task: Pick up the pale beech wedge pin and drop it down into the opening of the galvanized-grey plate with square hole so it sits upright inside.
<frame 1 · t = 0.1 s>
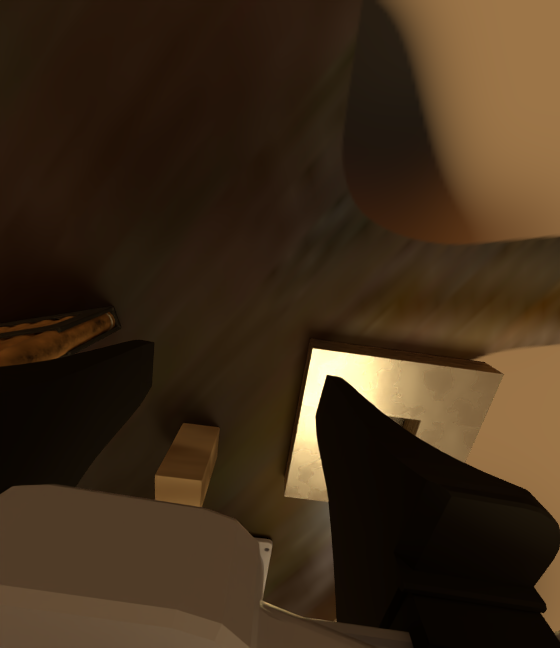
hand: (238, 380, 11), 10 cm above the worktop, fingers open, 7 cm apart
wedge pin: (200, 439, 25), on the worktop
plate with square hole: (376, 424, 24), on the worktop
ammunition clip: (54, 326, 22), on the worktop
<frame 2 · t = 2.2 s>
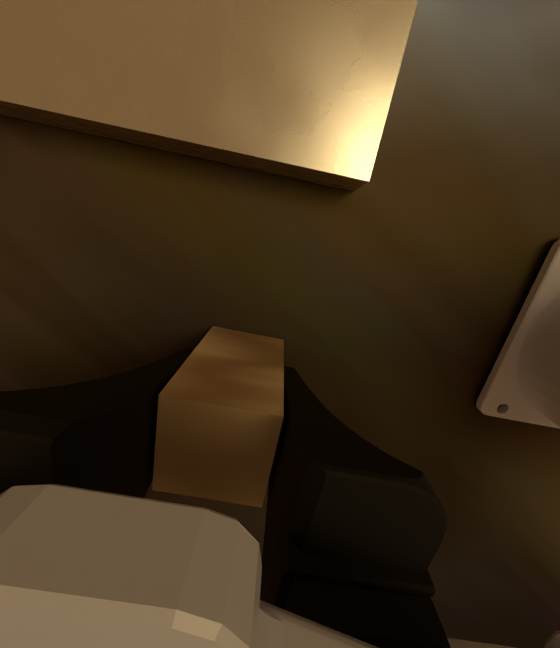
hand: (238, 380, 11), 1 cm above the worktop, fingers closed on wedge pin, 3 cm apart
wedge pin: (243, 364, 13), on the worktop, touching gripper
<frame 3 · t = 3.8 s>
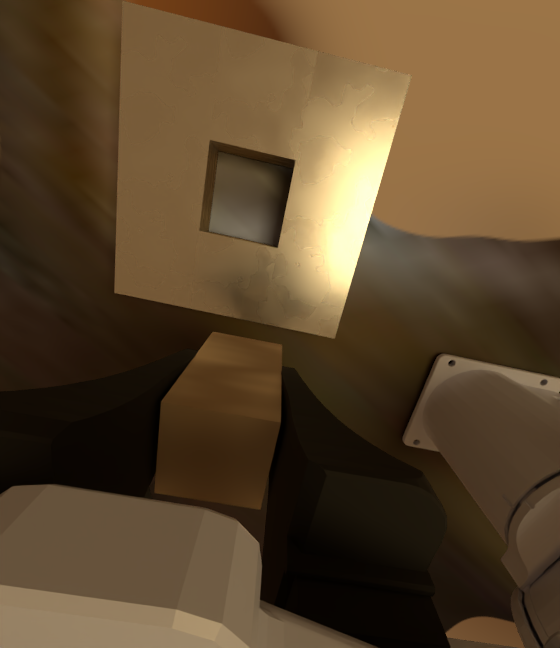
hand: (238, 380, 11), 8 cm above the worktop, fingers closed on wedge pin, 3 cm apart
wedge pin: (242, 369, 13), point 7 cm above the worktop, touching gripper
plate with square hole: (249, 201, 17), on the worktop
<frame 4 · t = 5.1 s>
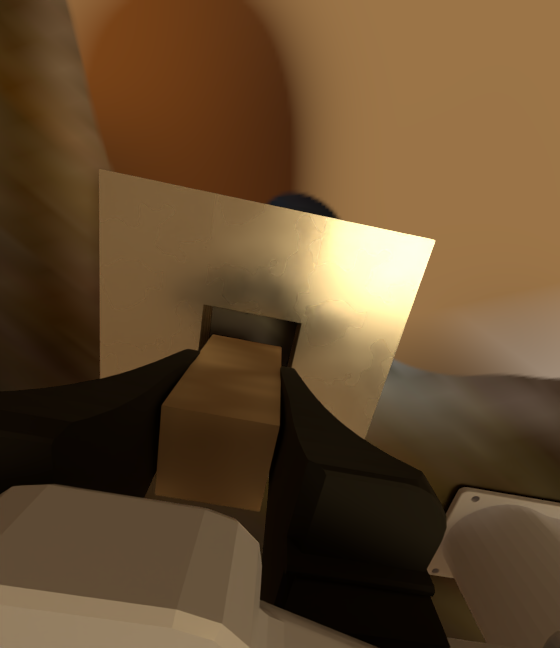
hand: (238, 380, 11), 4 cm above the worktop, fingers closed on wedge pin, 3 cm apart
wedge pin: (242, 371, 13), point 2 cm above the worktop, touching gripper
plate with square hole: (250, 343, 15), on the worktop
when the fingers open (3 cm above the worktop, at t = 5.9 s): wedge pin stays where it is, resting in plate with square hole.
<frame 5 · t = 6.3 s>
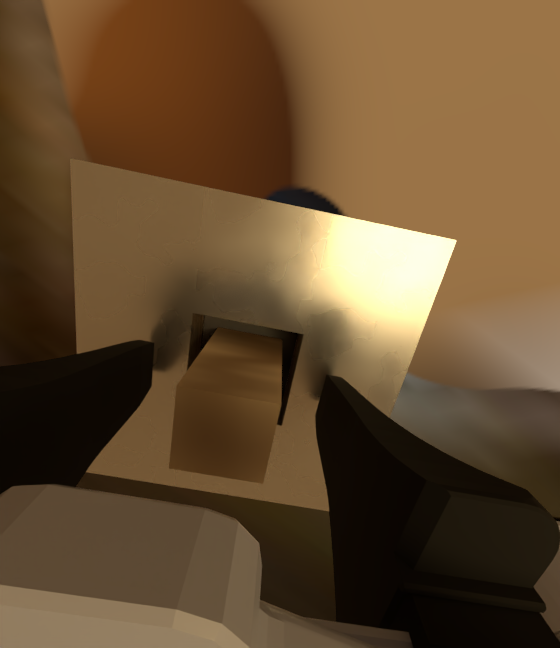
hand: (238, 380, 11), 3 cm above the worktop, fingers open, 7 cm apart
wedge pin: (245, 362, 14), resting in plate with square hole
plate with square hole: (246, 354, 14), on the worktop
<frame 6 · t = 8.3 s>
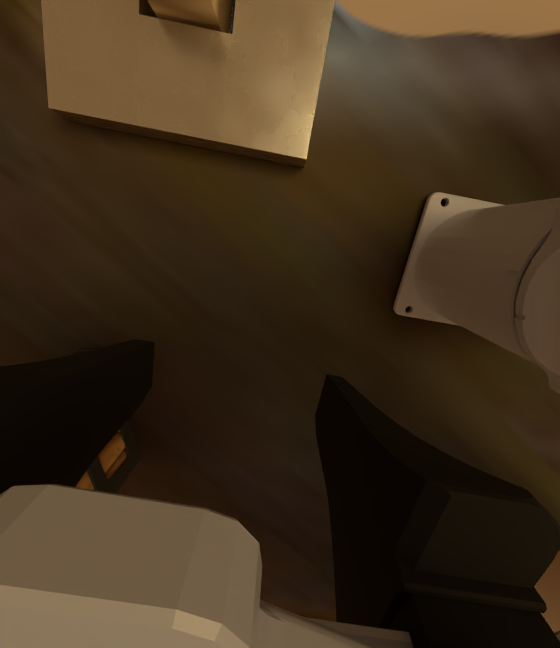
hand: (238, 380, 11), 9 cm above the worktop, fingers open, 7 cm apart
wedge pin: (201, 9, 15), resting in plate with square hole
ammunition clip: (114, 406, 23), on the worktop
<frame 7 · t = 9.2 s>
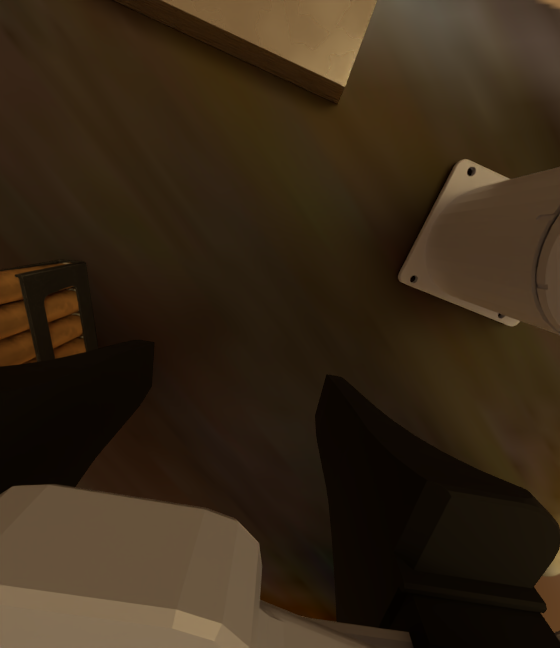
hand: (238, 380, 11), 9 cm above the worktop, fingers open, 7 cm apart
ammunition clip: (85, 331, 21), on the worktop
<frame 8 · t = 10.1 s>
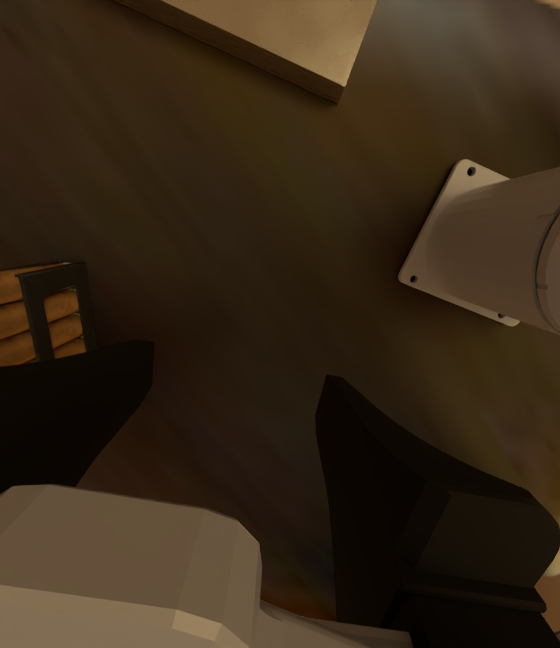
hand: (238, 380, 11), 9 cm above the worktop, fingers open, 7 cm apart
ammunition clip: (85, 331, 21), on the worktop
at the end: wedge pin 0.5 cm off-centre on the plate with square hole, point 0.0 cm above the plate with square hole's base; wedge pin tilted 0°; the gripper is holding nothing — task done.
